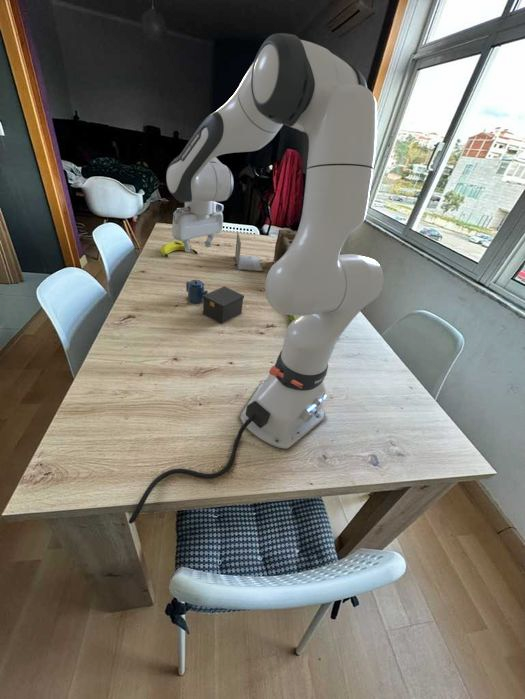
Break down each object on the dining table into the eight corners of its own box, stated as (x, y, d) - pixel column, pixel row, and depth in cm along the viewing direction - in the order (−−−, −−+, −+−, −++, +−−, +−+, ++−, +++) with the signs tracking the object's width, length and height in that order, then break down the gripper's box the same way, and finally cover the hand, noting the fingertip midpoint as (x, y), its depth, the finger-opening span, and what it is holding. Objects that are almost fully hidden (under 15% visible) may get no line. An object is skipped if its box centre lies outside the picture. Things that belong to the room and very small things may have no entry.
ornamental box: (315, 298, 135) (332, 261, 124) (280, 290, 130) (294, 251, 119) (299, 266, 162) (312, 233, 151) (269, 259, 157) (280, 225, 146)
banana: (155, 246, 138) (184, 259, 137) (174, 235, 151) (200, 246, 150) (155, 255, 141) (183, 267, 141) (173, 243, 154) (199, 254, 153)
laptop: (262, 272, 144) (266, 245, 136) (237, 269, 141) (240, 242, 134) (258, 258, 158) (261, 233, 150) (234, 256, 155) (237, 231, 148)
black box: (221, 324, 101) (222, 306, 97) (201, 314, 105) (201, 295, 101) (242, 313, 110) (244, 295, 105) (223, 303, 113) (224, 286, 109)
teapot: (180, 297, 112) (180, 278, 108) (192, 292, 117) (192, 274, 112) (201, 308, 108) (201, 288, 104) (212, 302, 113) (213, 284, 108)
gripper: (181, 211, 84) (182, 258, 92) (227, 205, 99) (224, 246, 107) (166, 205, 87) (168, 252, 95) (213, 201, 101) (211, 241, 109)
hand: (198, 249), depth 101 cm, fingers open, 8 cm apart
